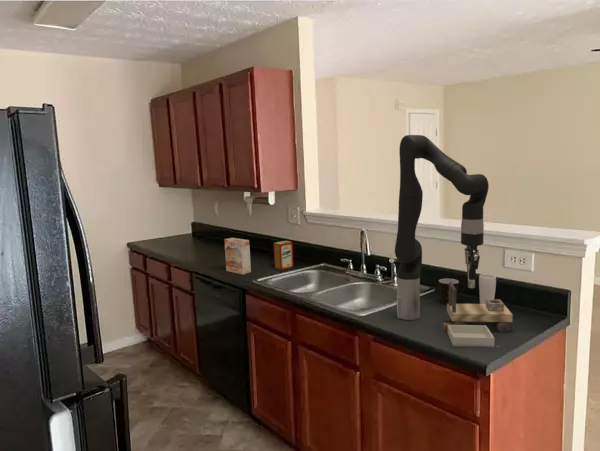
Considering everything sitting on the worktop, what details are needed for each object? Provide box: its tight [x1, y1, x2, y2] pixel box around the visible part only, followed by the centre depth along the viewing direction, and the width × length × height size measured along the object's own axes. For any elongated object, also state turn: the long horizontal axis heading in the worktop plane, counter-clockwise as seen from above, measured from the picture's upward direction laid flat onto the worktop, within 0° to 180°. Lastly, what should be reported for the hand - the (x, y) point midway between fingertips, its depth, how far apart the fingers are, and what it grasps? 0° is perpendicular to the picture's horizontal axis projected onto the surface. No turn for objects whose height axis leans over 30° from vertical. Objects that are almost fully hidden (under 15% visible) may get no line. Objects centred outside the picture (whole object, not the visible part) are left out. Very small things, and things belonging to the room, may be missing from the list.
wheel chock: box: [442, 322, 454, 333], centre depth 186 cm, size 4×3×3 cm
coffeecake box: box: [223, 237, 252, 275], centre depth 286 cm, size 15×7×20 cm, turn 49°
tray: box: [446, 324, 495, 348], centre depth 176 cm, size 14×12×4 cm
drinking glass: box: [478, 273, 497, 304], centre depth 207 cm, size 7×7×15 cm
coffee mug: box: [438, 278, 466, 305], centre depth 217 cm, size 12×9×10 cm
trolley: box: [446, 282, 514, 334], centre depth 188 cm, size 22×12×17 cm, turn 82°
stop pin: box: [465, 260, 476, 289], centre depth 172 cm, size 4×4×10 cm
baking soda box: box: [273, 240, 294, 271], centre depth 292 cm, size 10×6×16 cm
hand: (471, 278), depth 173 cm, fingers closed on stop pin, 2 cm apart
